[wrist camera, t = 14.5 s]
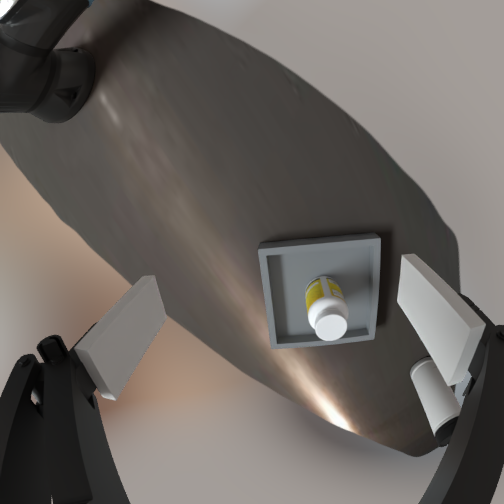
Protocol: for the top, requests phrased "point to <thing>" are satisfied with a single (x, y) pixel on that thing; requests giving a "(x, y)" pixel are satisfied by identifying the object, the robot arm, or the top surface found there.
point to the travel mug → (436, 399)
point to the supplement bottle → (326, 308)
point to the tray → (310, 267)
